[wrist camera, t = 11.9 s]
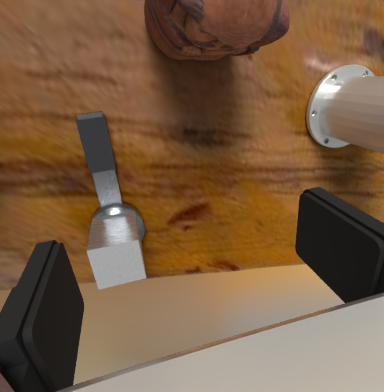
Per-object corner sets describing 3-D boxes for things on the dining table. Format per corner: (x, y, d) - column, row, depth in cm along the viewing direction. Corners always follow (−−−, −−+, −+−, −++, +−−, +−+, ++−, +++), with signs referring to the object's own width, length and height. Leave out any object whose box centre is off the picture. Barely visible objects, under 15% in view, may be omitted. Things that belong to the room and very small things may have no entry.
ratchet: (121, 108, 36) (122, 114, 31) (147, 239, 45) (150, 262, 40) (58, 116, 35) (47, 124, 29) (97, 250, 44) (94, 274, 38)
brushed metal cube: (134, 210, 40) (138, 239, 33) (141, 244, 43) (146, 278, 35) (92, 218, 39) (86, 250, 32) (102, 252, 41) (98, 289, 34)
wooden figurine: (141, 57, 34) (162, 43, 18) (141, -4, 32) (164, -81, 16) (229, 65, 37) (312, 58, 21) (235, 9, 35) (334, -45, 19)
